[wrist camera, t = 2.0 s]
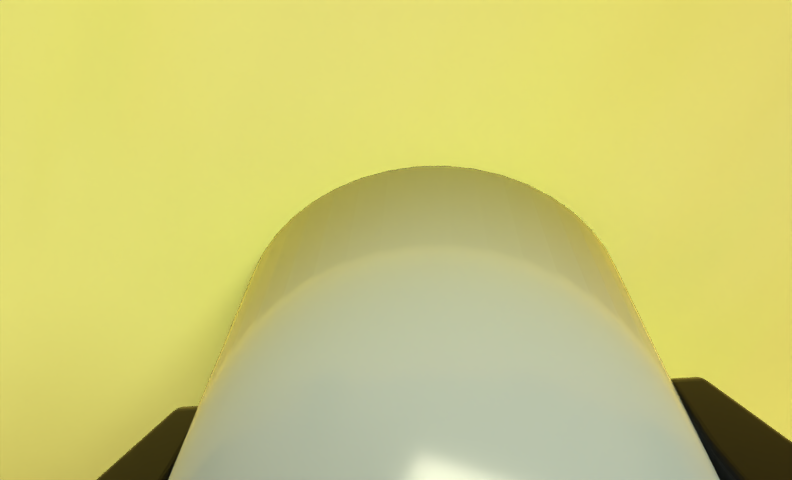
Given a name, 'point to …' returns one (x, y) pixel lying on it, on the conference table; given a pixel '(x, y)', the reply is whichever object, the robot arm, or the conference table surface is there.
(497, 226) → the jar
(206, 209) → the conference table surface
